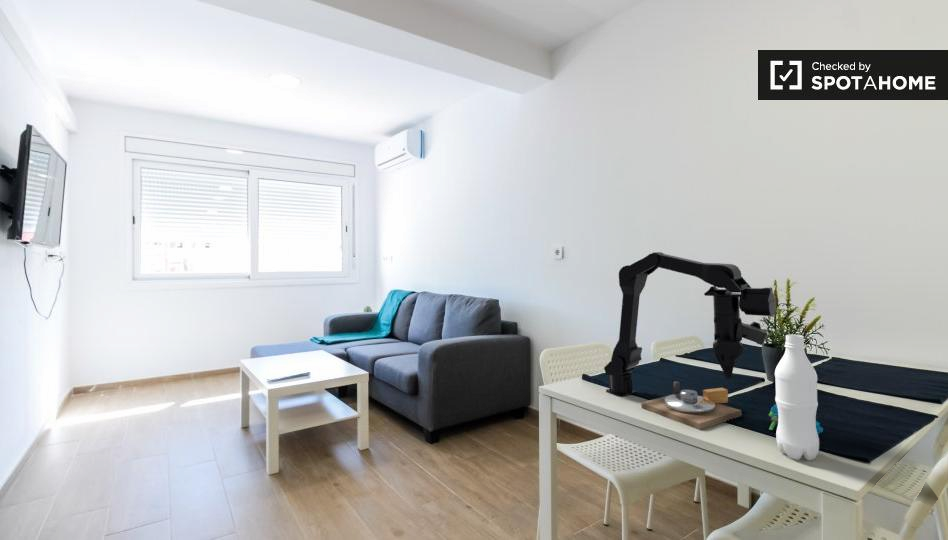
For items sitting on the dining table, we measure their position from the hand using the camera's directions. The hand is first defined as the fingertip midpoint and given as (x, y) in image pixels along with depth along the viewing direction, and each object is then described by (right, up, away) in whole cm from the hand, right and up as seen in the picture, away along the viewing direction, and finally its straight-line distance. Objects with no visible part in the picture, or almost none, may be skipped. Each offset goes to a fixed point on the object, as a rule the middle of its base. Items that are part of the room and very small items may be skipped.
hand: (728, 374), depth 113 cm
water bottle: (+2, -12, -21) cm, 24 cm away
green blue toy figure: (+8, -11, -12) cm, 18 cm away
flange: (-5, -9, +6) cm, 12 cm away
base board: (-8, -11, +5) cm, 15 cm away
